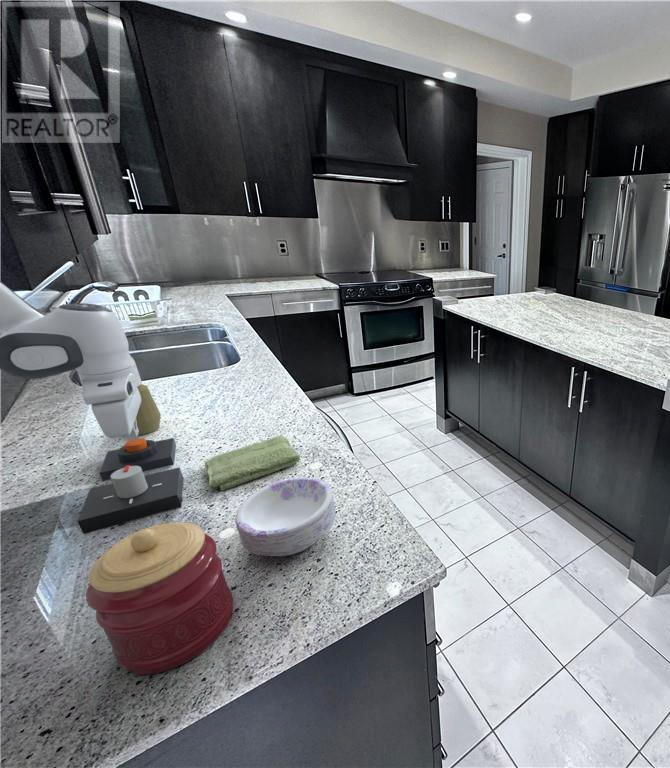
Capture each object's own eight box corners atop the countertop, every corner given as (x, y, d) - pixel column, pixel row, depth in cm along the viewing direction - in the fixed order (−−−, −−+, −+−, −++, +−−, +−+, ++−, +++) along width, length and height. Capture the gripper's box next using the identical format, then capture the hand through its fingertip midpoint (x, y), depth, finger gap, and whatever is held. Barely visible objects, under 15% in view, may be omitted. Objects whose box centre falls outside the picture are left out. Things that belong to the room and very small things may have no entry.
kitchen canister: (235, 644, 55) (203, 546, 49) (108, 699, 49) (49, 593, 42) (234, 577, 65) (207, 487, 59) (128, 615, 59) (84, 518, 52)
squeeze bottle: (163, 433, 105) (141, 368, 98) (121, 441, 101) (96, 374, 94) (166, 420, 111) (146, 359, 105) (127, 427, 107) (103, 364, 100)
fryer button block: (102, 481, 86) (96, 465, 85) (110, 459, 94) (104, 444, 92) (173, 464, 93) (168, 449, 91) (176, 445, 100) (171, 431, 99)
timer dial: (146, 493, 79) (138, 473, 77) (115, 501, 76) (107, 480, 75) (149, 482, 82) (142, 462, 80) (120, 488, 80) (112, 468, 78)
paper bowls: (231, 578, 65) (219, 540, 62) (259, 515, 79) (250, 481, 76) (332, 561, 69) (326, 524, 66) (342, 504, 83) (337, 471, 80)
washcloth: (202, 467, 92) (199, 455, 91) (287, 442, 103) (284, 431, 102) (212, 495, 83) (208, 483, 82) (303, 465, 95) (301, 453, 93)
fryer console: (83, 534, 72) (76, 520, 71) (95, 500, 81) (89, 487, 79) (181, 506, 80) (176, 493, 79) (183, 478, 88) (179, 466, 87)
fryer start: (125, 454, 90) (122, 447, 89) (127, 447, 92) (125, 440, 92) (146, 450, 92) (144, 443, 91) (148, 443, 94) (146, 436, 94)
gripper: (101, 367, 92) (121, 421, 97) (80, 400, 76) (106, 462, 81) (138, 363, 95) (155, 415, 100) (124, 393, 80) (146, 453, 85)
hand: (133, 437), depth 91 cm, fingers closed
